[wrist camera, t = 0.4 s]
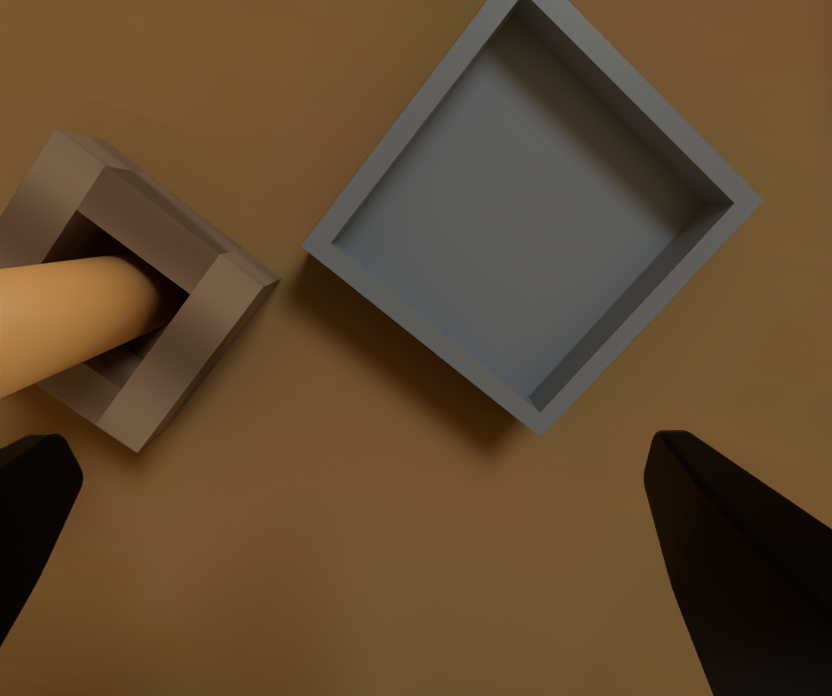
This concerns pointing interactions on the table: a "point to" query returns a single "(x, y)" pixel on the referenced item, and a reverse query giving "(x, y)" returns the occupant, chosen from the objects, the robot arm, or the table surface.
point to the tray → (531, 208)
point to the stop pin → (76, 313)
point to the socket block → (160, 247)
